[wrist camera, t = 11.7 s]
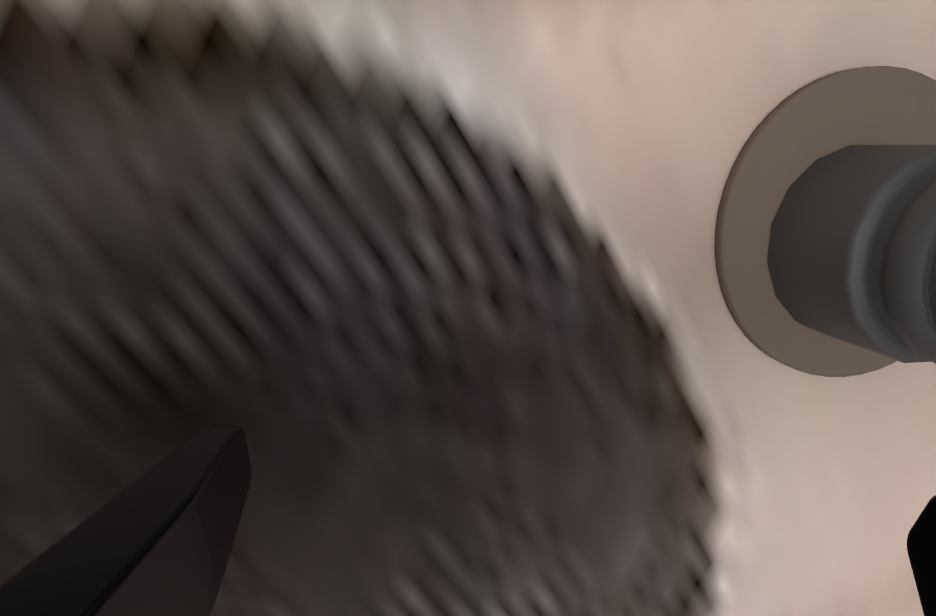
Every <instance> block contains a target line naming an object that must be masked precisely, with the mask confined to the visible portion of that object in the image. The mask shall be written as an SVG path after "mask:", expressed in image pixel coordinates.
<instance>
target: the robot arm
mask: <svg viewBox="0 0 936 616" xmlns="http://www.w3.org/2000/svg"><path fill="white" fill-rule="evenodd" d="M250 481H251V464H250V459H249V454H248V448H247V443H246V438H245V434H244V431H243V429H242V428H241V427H239V426H235V425H225V424H211V425H209V426H207V427H205V428H204V429H203V430H201V431H200V432H199V433H198V434H196V435H195V436H194V437H192V438H191V439H190V440H188V441H187V442H186V443H185V444H183V445H182V446H181V447H179V448H178V449H177V450H175V451H174V452H173V453H172V454H170V455H169V456H168V457H166V458H165V459H164V460H162V461H161V462H160V463H159V464H157V465H156V466H155V467H153V468H152V469H151V470H149V471H148V472H147V473H146V474H144V475H143V476H142V477H140V478H139V479H138V480H136V481H135V482H134V483H133V484H131V485H130V486H129V487H127V488H126V489H125V490H123V491H122V492H121V493H120V494H118V495H117V496H116V497H114V498H113V499H112V500H111V501H109V502H108V503H107V504H105V505H104V506H103V507H101V508H100V509H99V510H98V511H96V512H95V513H94V514H92V515H91V516H90V517H88V518H87V519H86V520H85V521H83V522H82V523H81V524H79V525H78V526H77V527H75V528H74V529H73V530H72V531H70V532H69V533H68V534H66V535H65V536H64V537H62V538H61V539H60V540H59V541H57V542H56V543H55V544H53V545H52V546H51V547H49V548H48V549H47V550H46V551H44V552H43V553H42V554H40V555H39V556H38V557H36V558H35V559H34V560H33V561H31V562H30V563H29V564H27V565H26V566H25V567H23V568H22V569H21V570H20V571H18V572H17V573H16V574H14V575H13V576H12V577H11V578H9V579H8V580H7V581H5V582H4V583H3V584H1V585H0V616H209V615H210V613H211V610H212V608H213V605H214V603H215V600H216V597H217V595H218V592H219V589H220V586H221V583H222V579H223V576H224V573H225V569H226V566H227V563H228V559H229V556H230V552H231V549H232V545H233V542H234V538H235V535H236V531H237V528H238V524H239V521H240V517H241V514H242V510H243V507H244V503H245V500H246V496H247V493H248V489H249V486H250ZM907 550H908V555H909V559H910V563H911V567H912V570H913V574H914V578H915V582H916V586H917V590H918V593H919V597H920V601H921V605H922V609H923V612H924V616H936V495H935V496H934V497H932V498H931V499H930V501H929V502H928V504H927V505H926V507H925V508H924V510H923V511H922V513H921V514H920V516H919V517H918V519H917V521H916V522H915V524H914V525H913V527H912V528H911V530H910V532H909V534H908V538H907Z"/></svg>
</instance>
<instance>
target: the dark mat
mask: <svg viewBox="0 0 936 616" xmlns="http://www.w3.org/2000/svg"><path fill="white" fill-rule="evenodd" d="M848 145H936V81H935V80H933V79H931V78H929V77H927V76H925V75H923V74H921V73H918V72H915V71H912V70H908V69H905V68H898V67H890V66H876V67H863V68H856V69H851V70H846V71H841V72H837V73H834V74H831V75H828V76H825V77H823V78H820V79H818V80H816V81H814V82H812V83H810V84H808V85H806V86H804V87H802V88H801V89H799V90H798V91H797V92H795V93H794V94H792V95H791V96H789V97H788V98H787V99H785V100H784V101H783V102H782V103H781V104H780V105H779V106H777V107H776V108H775V109H774V110H773V111H772V112H771V113H770V114H769V115H768V116H767V117H766V118H765V119H764V121H763V122H762V123H761V124H760V125H759V126H758V127H757V129H756V130H755V131H754V133H753V134H752V136H751V137H750V138H749V140H748V141H747V143H746V144H745V146H744V147H743V149H742V151H741V153H740V155H739V156H738V158H737V160H736V162H735V164H734V166H733V168H732V171H731V173H730V176H729V178H728V181H727V183H726V186H725V189H724V192H723V196H722V200H721V204H720V207H719V213H718V220H717V226H716V246H715V252H716V263H717V272H718V276H719V281H720V285H721V290H722V292H723V295H724V298H725V300H726V303H727V306H728V308H729V310H730V312H731V314H732V315H733V317H734V319H735V321H736V323H737V324H738V326H739V327H740V328H741V330H742V331H743V332H744V334H745V335H746V336H747V337H748V338H749V339H750V340H751V341H752V342H753V343H754V344H755V345H756V346H757V347H758V348H759V349H760V350H762V351H763V352H765V353H766V354H767V355H769V356H770V357H771V358H773V359H775V360H777V361H779V362H781V363H783V364H785V365H787V366H790V367H792V368H794V369H796V370H799V371H803V372H806V373H809V374H813V375H819V376H826V377H846V376H853V375H860V374H864V373H868V372H871V371H875V370H878V369H880V368H883V367H885V366H887V365H890V364H892V363H894V362H896V361H897V360H894V359H891V358H889V357H886V356H883V355H880V354H878V353H875V352H872V351H869V350H866V349H864V348H861V347H858V346H855V345H853V344H850V343H847V342H844V341H841V340H839V339H836V338H833V337H830V336H828V335H825V334H822V333H820V332H818V331H816V330H813V329H811V328H809V327H807V326H805V325H802V324H800V323H798V322H796V321H795V320H794V319H793V318H792V316H791V315H790V314H789V312H788V311H787V310H786V309H785V307H784V306H783V305H782V304H781V302H780V301H779V300H778V299H777V297H776V296H775V292H774V288H773V284H772V280H771V276H770V272H769V268H768V264H767V257H768V248H769V239H770V231H771V223H772V221H773V219H774V217H775V215H776V213H777V211H778V209H779V207H780V204H781V202H782V200H783V198H784V196H785V194H786V192H787V190H788V188H789V187H790V186H791V185H792V184H793V183H794V182H795V181H796V180H797V179H798V178H799V176H800V175H801V174H802V173H803V172H804V171H805V170H806V169H807V168H808V167H809V166H810V165H811V164H812V163H813V162H814V161H815V160H817V159H819V158H821V157H823V156H826V155H828V154H830V153H832V152H835V151H837V150H839V149H842V148H844V147H846V146H848Z"/></svg>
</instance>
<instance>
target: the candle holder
mask: <svg viewBox="0 0 936 616" xmlns="http://www.w3.org/2000/svg"><path fill="white" fill-rule="evenodd" d="M767 264H768V268H769V272H770V276H771V280H772V284H773V288H774V292H775V296H776V297H777V299H778V300H779V301H780V302H781V304H782V305H783V306H784V307H785V309H786V310H787V311H788V312H789V314H790V315H791V316H792V318H793V319H794V320H795V321H796V322H798V323H800V324H802V325H805V326H807V327H809V328H811V329H813V330H816V331H818V332H820V333H822V334H825V335H828V336H830V337H833V338H836V339H839V340H841V341H844V342H847V343H850V344H853V345H855V346H858V347H861V348H864V349H866V350H869V351H872V352H875V353H878V354H880V355H883V356H886V357H889V358H891V359H894V360H897V361H900V362H903V363H912V362H934V363H936V145H848V146H846V147H844V148H842V149H839V150H837V151H835V152H832V153H830V154H828V155H826V156H823V157H821V158H819V159H817V160H815V161H814V162H813V163H812V164H811V165H810V166H809V167H808V168H807V169H806V170H805V171H804V172H803V173H802V174H801V175H800V176H799V178H798V179H797V180H796V181H795V182H794V183H793V184H792V185H791V186H790V187H789V188H788V190H787V192H786V194H785V196H784V198H783V200H782V202H781V204H780V207H779V209H778V211H777V213H776V215H775V217H774V219H773V221H772V223H771V231H770V239H769V248H768V257H767Z"/></svg>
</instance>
